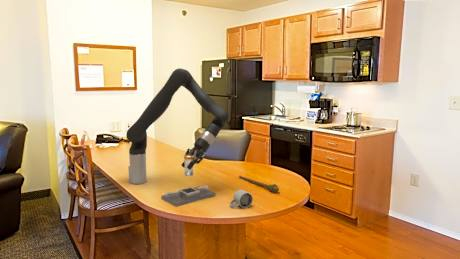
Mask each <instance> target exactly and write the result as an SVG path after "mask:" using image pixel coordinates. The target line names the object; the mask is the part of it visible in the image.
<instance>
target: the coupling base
mask: <svg viewBox="0 0 460 259" xmlns="http://www.w3.org/2000/svg"><path fill="white" fill-rule="evenodd" d="M209 189H210V188H209V185H208V184H207V185H203V186H199V185H198V186H195V187H191V186H190V187H186V188H181V189H177V190H176V191H175V190H174V191H167V192H164V193H165V194H163V195H161V199H162V200H163V201H165V202H168V203H169V204H171V205H173V206H175V207H179V206H183V205H186V204H190V203H194V202H197V201H201V200H204V199H208V198H211V197H214V196H216V192H215V191H212V190H209Z"/></svg>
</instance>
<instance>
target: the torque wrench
mask: <svg viewBox="0 0 460 259" xmlns="http://www.w3.org/2000/svg"><path fill="white" fill-rule="evenodd" d="M238 178H239V179H242V180H244V181H247V182H250V183H253V184H255V185H258V186H261V187H264V188H266V189H268V190H269V191H270V192H271V193H274V194H275V193H277V192H279V191H280V188H279V186H278V185H277V184H275V183H274V184H267V183H264V182H259V181H257V180H255V179H254V180H253V179H251V178H248V177H244V176H243V175H239V176H238Z"/></svg>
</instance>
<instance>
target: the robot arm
mask: <svg viewBox="0 0 460 259" xmlns="http://www.w3.org/2000/svg"><path fill="white" fill-rule="evenodd" d="M181 87H183V88H185V89H186V90H188V92H190V94H192V96H193V97H194V99H195V100H196V102H197V103H198V104H199V105H200V107H202V109H203V110H204V111H206V112H207V113H208V114H212V115H213V116H214V117H213V119H212V120H211V122H210V123H209V124H208V125H207V126H206V127H205V129H204V130H203V132H201V133H200V135H199V136H198V138H197V139H196V140H195V142H194V143H193V145H194V146H193V147H192V148H187V149H186V152H185V154H184V155H193V159H192V162H190V163H189V165H188V166H187V168H188V169H189V170H190V169H191V168H192V167H193V168H194V166H195V165H196V164H197V165H199V164H200V163H201V162H202V161H203V160H204V159H205V157H206V155H207V154H205V153H207V152H208V150H209V148H210V147H211V145H212V144H213V142H214V140H216V138H217V136H218V135H219V133H220V131H221V130H222V129H223V128H224V127H225V125H226V124H227V123H228V120H229V118H230V115H229V112H228V111H227V109H225V108H224V107H223V106H221V105H220V104H218V103H217V102H216V101H215V100H214V99H213V98H212V97H211V96H210V95H209V94H208V93H207V92H206V91H205V90H204V89H203V88H202V87H201V86H200V85H199V83H198V82H197V81H196V80H195V78H194V77H193V76H192V74H191V73H190V71H188V70H187V69H184V68H176V69H175V70H173V71H172V72H171V74H170V76H169V78H168V79H167V81H166V82H165V84H164V85H163V87H162V88H161V89H160V90H159V91H158V93H157V94H156V95H155V97H153V98H152V100H151V101H150V103H149V104H148V106H146V108H145V109H144V110H143V112H142V113H141V115H140V116H139V117H138V119H136V121H135V122H134V123H133V124H132V125H131V126H129V128H128V130H127V131H126V135H125V136H126V140H127V142H130V143H131V145H130V147H129V149H128V150H129V151H128V153H129V154H128V155H129V165H128V183H130V184H133V185H141V184H145V183H146V182H148V181H147V157H146V156H147V147H148V146H147V145H148V143H147V142H148V136H147V133H148V132H147V130H148V129H149V127H150V126H151V125H153V124H154V123H155V122H156V121H158V119H160V118H161V116H162V115H163V114H164V113H165V112H166V111H167V109H168V108H169V106H170V104H171V101H172V100H173V97H174V95H175V94H176V92H178V90H179V89H180V88H181ZM181 167H182V168H183V169H185V166H184V161H183V162H182V163H181Z"/></svg>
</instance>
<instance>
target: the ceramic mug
mask: <svg viewBox="0 0 460 259" xmlns="http://www.w3.org/2000/svg"><path fill="white" fill-rule="evenodd" d="M253 201H254V199H253V195H252V194H251V193H250V192H247V191H246V190H243V189H238V190H236V191H235V192H234V194H233V199H232V200H231V201H230V202H229V206H230V208H231V209H234V208H235V209H236V208H237V207H239V206H240V207H241V208H243V209H246V208H250V207H251V205H252V204H253Z"/></svg>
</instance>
